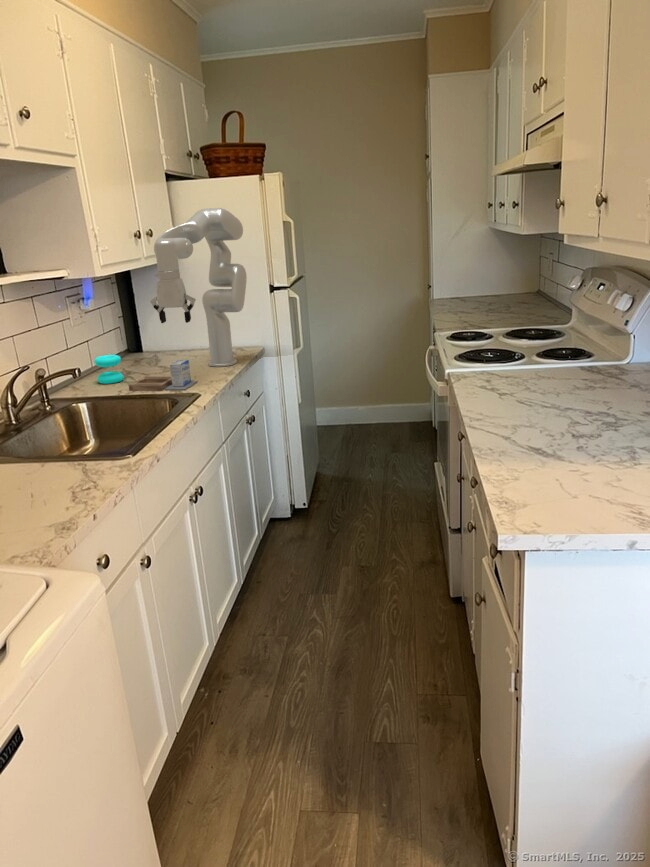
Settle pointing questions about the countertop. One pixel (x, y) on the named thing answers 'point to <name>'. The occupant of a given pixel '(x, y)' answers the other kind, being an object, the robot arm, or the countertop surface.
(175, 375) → the medicine box
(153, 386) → the board
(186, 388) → the slate mat
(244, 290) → the robot arm
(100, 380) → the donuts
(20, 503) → the countertop surface
